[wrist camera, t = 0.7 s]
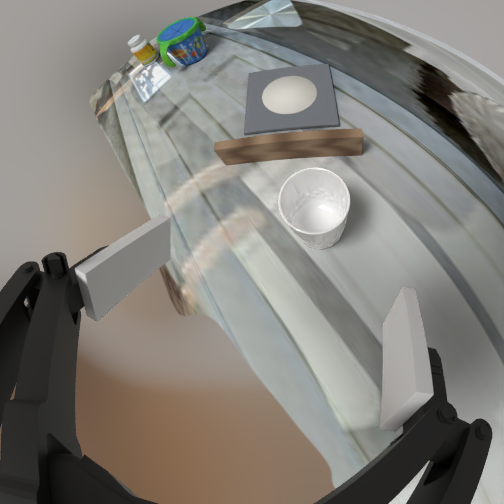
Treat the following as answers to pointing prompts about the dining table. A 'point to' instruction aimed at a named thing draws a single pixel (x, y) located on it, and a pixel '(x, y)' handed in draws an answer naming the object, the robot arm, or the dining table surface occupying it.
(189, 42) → the snack cup
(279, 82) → the slate mat
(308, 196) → the white cup
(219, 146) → the low wall
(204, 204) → the dining table surface
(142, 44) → the supplement bottle
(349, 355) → the dining table surface
